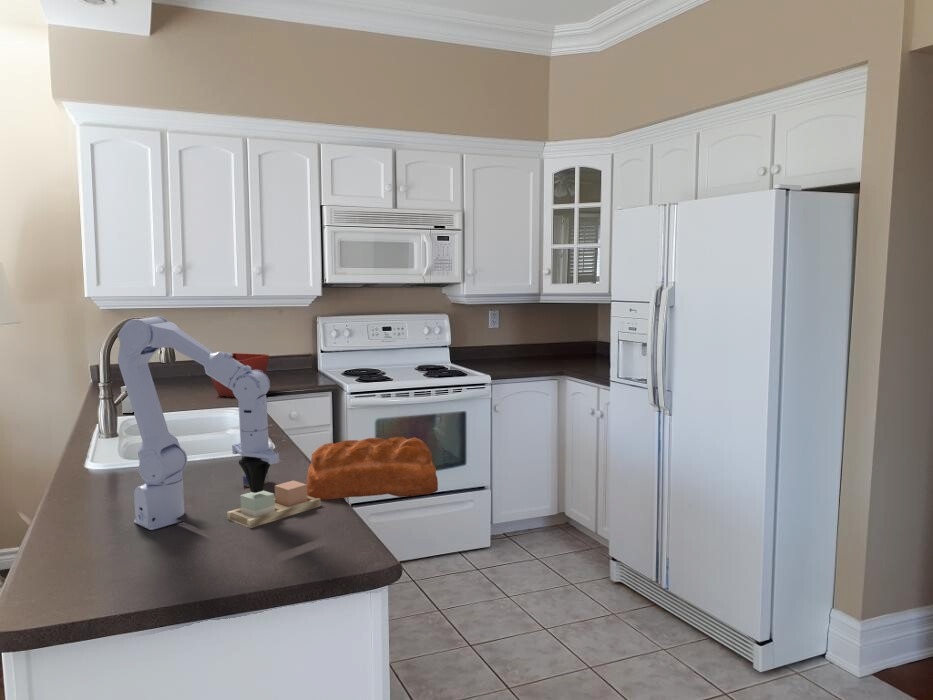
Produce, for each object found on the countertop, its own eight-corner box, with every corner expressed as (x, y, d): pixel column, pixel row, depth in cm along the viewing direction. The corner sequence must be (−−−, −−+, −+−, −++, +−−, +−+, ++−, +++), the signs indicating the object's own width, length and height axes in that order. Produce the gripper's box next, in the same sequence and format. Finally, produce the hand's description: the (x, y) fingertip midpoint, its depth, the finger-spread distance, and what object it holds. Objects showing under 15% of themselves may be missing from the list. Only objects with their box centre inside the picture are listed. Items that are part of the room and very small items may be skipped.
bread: (441, 495, 173) (440, 442, 172) (306, 507, 166) (304, 451, 165) (430, 477, 188) (429, 427, 187) (306, 487, 181) (304, 435, 180)
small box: (136, 414, 275) (135, 386, 274) (122, 414, 275) (120, 386, 274) (146, 410, 283) (144, 383, 282) (132, 410, 283) (130, 383, 282)
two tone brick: (275, 516, 156) (274, 493, 155) (254, 523, 152) (253, 499, 151) (261, 511, 159) (260, 489, 158) (241, 517, 155) (240, 495, 155)
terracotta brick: (288, 512, 158) (288, 489, 158) (275, 507, 162) (274, 485, 161) (307, 506, 162) (306, 484, 162) (294, 501, 165) (293, 480, 165)
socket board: (250, 533, 149) (250, 521, 149) (227, 523, 155) (226, 511, 155) (321, 510, 163) (321, 499, 162) (297, 502, 169) (296, 491, 168)
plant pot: (243, 400, 302) (241, 359, 300) (206, 397, 309) (204, 358, 307) (271, 392, 320) (269, 354, 318) (235, 390, 326) (234, 353, 324)
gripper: (290, 430, 152) (293, 493, 153) (251, 421, 161) (254, 480, 163) (260, 436, 146) (264, 501, 148) (222, 426, 156) (225, 488, 157)
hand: (256, 491), depth 155 cm, fingers closed
